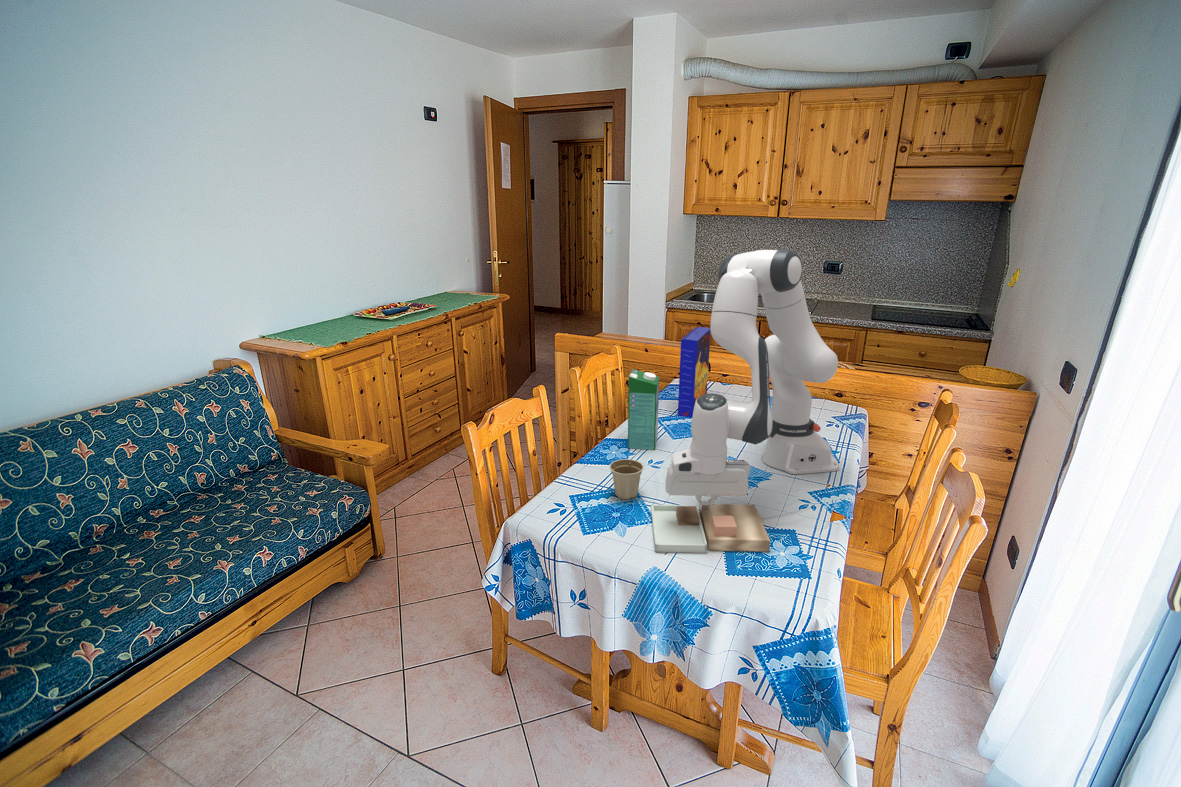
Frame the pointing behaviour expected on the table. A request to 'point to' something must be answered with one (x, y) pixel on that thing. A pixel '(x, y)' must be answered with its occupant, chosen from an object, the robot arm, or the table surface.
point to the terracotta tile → (724, 525)
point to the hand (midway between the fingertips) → (705, 509)
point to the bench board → (748, 529)
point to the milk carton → (643, 410)
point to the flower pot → (626, 477)
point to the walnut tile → (687, 515)
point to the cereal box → (693, 369)
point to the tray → (676, 532)
